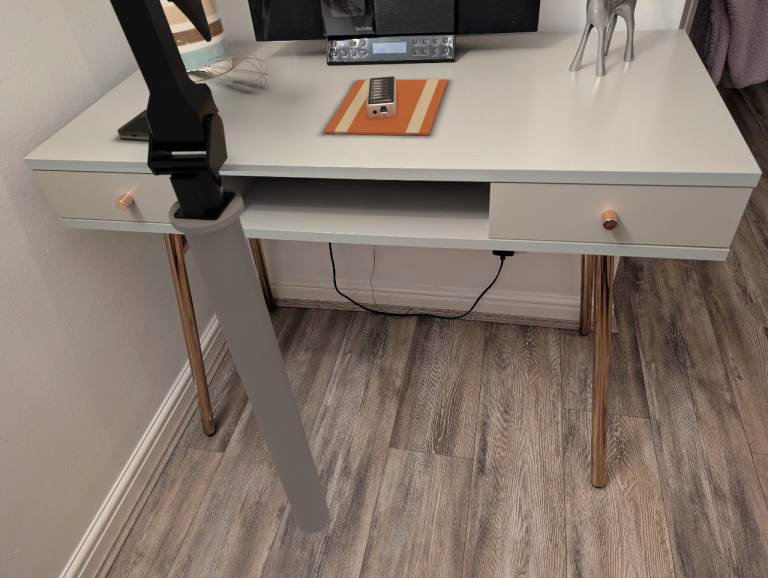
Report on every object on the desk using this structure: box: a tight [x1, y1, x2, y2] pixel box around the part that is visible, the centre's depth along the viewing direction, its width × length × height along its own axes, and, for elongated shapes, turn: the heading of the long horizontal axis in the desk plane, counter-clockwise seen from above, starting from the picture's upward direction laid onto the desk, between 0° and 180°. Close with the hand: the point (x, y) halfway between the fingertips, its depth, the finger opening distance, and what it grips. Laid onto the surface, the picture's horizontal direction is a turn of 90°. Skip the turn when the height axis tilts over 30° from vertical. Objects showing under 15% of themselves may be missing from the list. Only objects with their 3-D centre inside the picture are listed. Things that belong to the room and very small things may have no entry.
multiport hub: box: [367, 75, 397, 119], centre depth 92 cm, size 4×11×2 cm, turn 179°
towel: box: [324, 78, 449, 136], centre depth 93 cm, size 20×16×1 cm
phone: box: [117, 108, 150, 141], centre depth 97 cm, size 8×1×15 cm
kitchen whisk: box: [205, 51, 271, 92], centre depth 109 cm, size 6×34×6 cm, turn 50°
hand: (236, 40), depth 87 cm, fingers open, 9 cm apart
